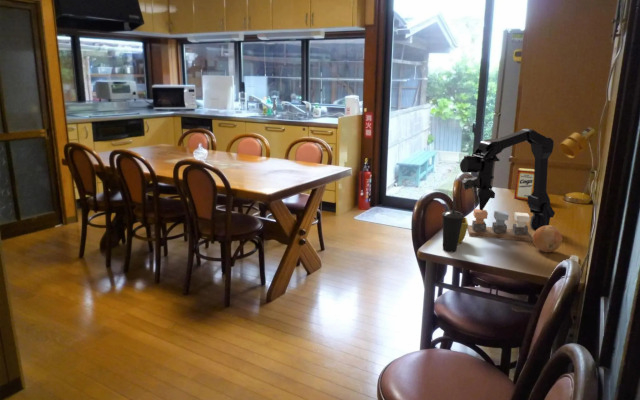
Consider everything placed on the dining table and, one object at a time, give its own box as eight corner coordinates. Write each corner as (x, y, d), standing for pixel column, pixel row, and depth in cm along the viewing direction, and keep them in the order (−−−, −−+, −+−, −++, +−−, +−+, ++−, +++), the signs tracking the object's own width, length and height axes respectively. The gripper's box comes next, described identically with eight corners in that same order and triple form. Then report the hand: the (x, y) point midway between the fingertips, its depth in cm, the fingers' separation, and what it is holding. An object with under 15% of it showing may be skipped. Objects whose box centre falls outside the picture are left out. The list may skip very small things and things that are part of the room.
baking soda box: (514, 198, 256) (518, 169, 252) (514, 195, 261) (518, 167, 257) (533, 200, 252) (537, 171, 248) (533, 198, 258) (538, 169, 254)
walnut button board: (526, 233, 197) (528, 223, 196) (532, 241, 188) (534, 230, 186) (466, 228, 201) (468, 218, 200) (469, 235, 192) (470, 225, 191)
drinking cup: (436, 246, 179) (441, 194, 174) (455, 246, 179) (461, 194, 174) (442, 253, 171) (448, 200, 166) (463, 253, 172) (469, 200, 167)
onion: (551, 246, 182) (555, 221, 180) (565, 256, 173) (569, 230, 170) (526, 246, 182) (530, 221, 179) (539, 255, 172) (543, 229, 170)
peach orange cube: (484, 222, 197) (486, 209, 195) (486, 225, 192) (487, 213, 191) (472, 221, 198) (474, 209, 196) (473, 224, 193) (475, 212, 192)
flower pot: (465, 246, 180) (468, 223, 177) (441, 244, 181) (444, 221, 179) (463, 239, 188) (466, 217, 186) (441, 236, 190) (443, 215, 187)
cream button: (525, 225, 194) (527, 213, 192) (528, 229, 189) (530, 216, 188) (513, 224, 195) (514, 212, 193) (515, 228, 190) (517, 215, 189)
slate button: (504, 224, 195) (506, 211, 194) (506, 227, 191) (508, 214, 189) (492, 223, 196) (494, 210, 195) (494, 226, 192) (496, 213, 190)
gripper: (462, 166, 200) (458, 202, 204) (466, 175, 182) (462, 214, 186) (490, 168, 198) (485, 204, 202) (497, 177, 180) (492, 216, 184)
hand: (481, 209), depth 193 cm, fingers closed
